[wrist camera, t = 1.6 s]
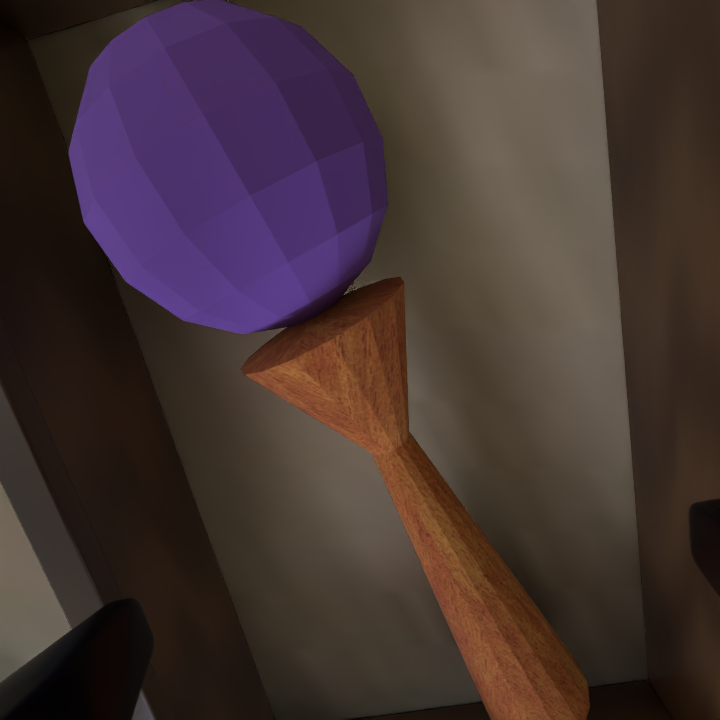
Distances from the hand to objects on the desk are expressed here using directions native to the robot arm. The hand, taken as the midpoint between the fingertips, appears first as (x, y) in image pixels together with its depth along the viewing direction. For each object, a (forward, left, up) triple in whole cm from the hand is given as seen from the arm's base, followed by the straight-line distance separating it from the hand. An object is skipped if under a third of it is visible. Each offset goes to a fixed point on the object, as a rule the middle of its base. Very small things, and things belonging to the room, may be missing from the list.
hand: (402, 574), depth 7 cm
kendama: (0, 0, -7) cm, 7 cm away
